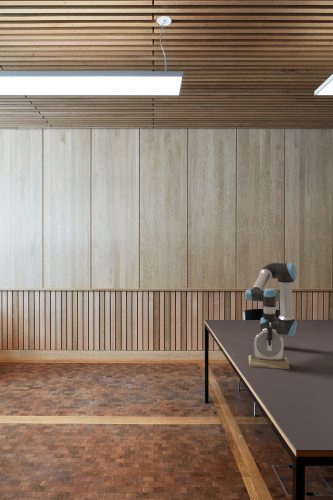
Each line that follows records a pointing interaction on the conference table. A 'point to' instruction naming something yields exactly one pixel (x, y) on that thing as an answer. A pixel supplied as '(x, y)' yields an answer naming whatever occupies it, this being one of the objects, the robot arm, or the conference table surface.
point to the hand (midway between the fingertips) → (268, 348)
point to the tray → (268, 363)
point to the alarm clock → (261, 346)
